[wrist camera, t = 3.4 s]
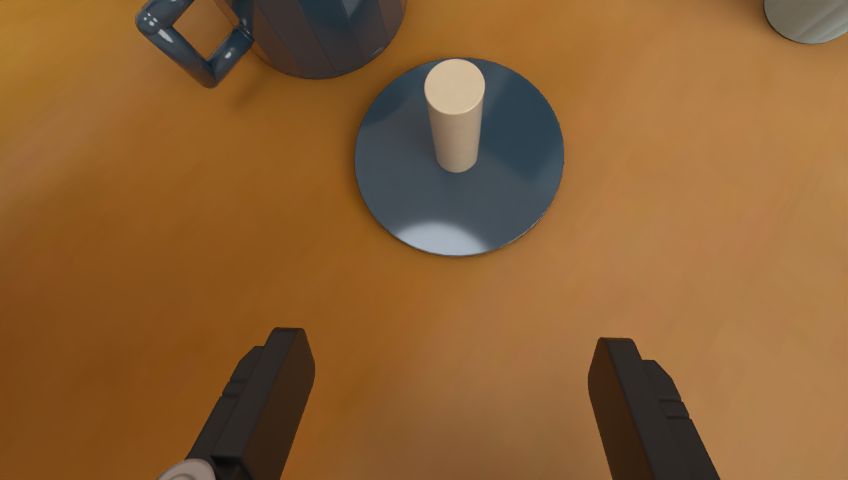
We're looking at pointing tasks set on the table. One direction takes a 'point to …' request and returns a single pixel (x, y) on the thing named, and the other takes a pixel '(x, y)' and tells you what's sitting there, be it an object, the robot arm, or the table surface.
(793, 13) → the cup
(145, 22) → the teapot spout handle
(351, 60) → the metal pot
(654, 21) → the table surface
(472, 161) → the pot lid
